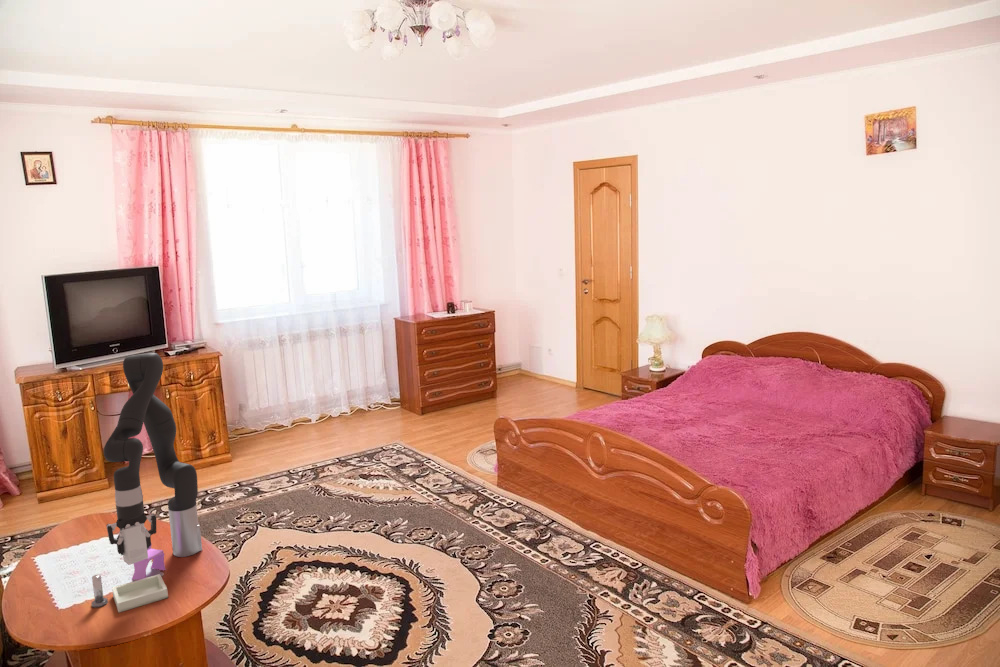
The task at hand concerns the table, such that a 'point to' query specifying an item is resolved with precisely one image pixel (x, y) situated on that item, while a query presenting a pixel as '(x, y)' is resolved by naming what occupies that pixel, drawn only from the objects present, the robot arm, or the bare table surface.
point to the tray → (139, 593)
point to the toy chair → (142, 565)
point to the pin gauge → (98, 592)
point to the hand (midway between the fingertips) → (134, 550)
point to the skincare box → (134, 544)
